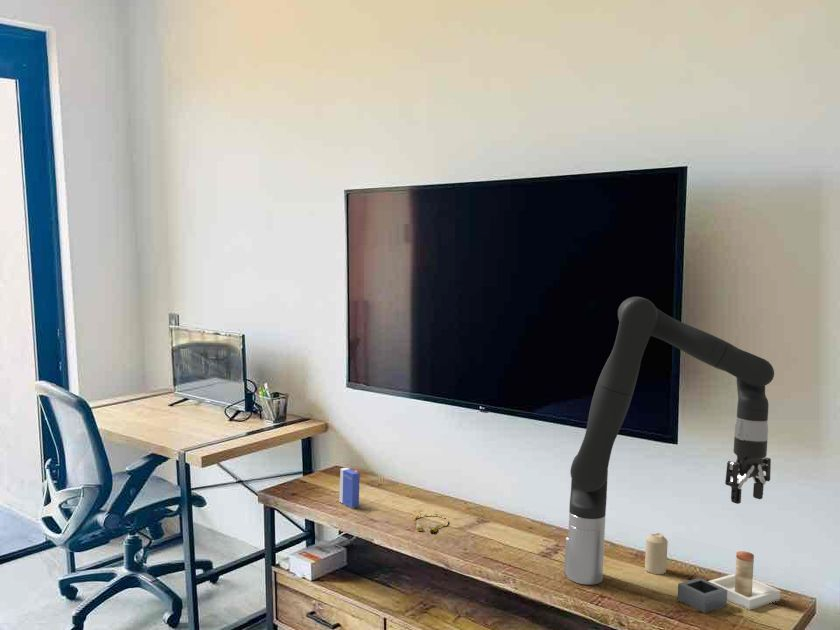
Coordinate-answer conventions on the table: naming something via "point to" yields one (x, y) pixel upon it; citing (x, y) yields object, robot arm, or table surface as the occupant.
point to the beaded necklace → (420, 528)
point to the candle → (656, 554)
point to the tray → (759, 597)
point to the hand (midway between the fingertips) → (746, 500)
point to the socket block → (702, 595)
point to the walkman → (349, 487)
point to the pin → (744, 573)
